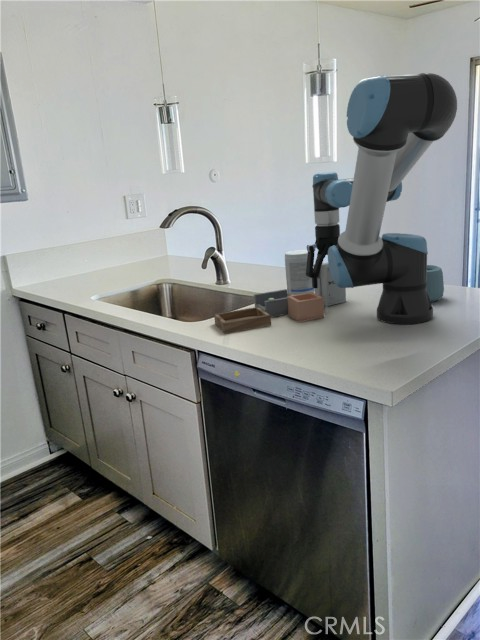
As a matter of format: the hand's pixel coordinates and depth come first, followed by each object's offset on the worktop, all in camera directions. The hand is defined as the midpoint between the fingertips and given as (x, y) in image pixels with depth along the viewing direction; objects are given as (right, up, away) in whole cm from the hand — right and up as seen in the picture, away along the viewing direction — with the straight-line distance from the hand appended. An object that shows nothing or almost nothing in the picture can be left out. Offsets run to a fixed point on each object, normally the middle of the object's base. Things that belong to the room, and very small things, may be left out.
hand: (330, 295), depth 168 cm
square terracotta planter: (-9, -7, -12) cm, 17 cm away
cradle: (-17, -5, -3) cm, 18 cm away
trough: (-28, -9, -14) cm, 33 cm away
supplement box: (0, -2, +1) cm, 2 cm away
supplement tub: (-8, +1, +16) cm, 17 cm away
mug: (+28, -1, -4) cm, 29 cm away
